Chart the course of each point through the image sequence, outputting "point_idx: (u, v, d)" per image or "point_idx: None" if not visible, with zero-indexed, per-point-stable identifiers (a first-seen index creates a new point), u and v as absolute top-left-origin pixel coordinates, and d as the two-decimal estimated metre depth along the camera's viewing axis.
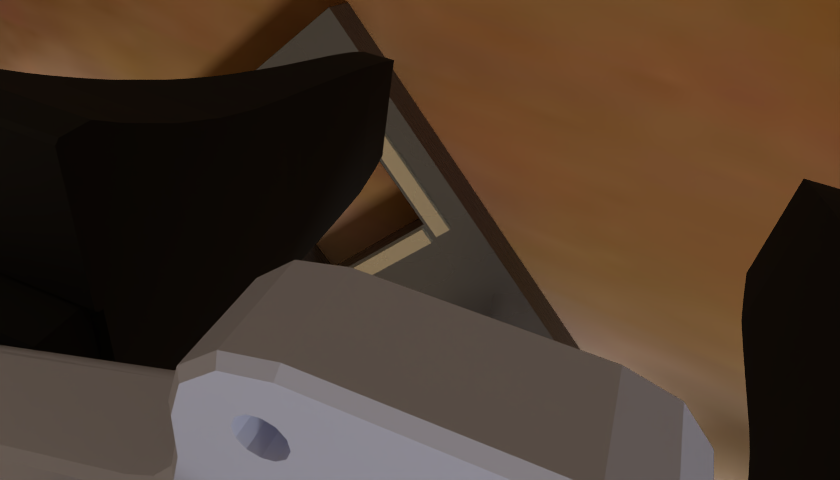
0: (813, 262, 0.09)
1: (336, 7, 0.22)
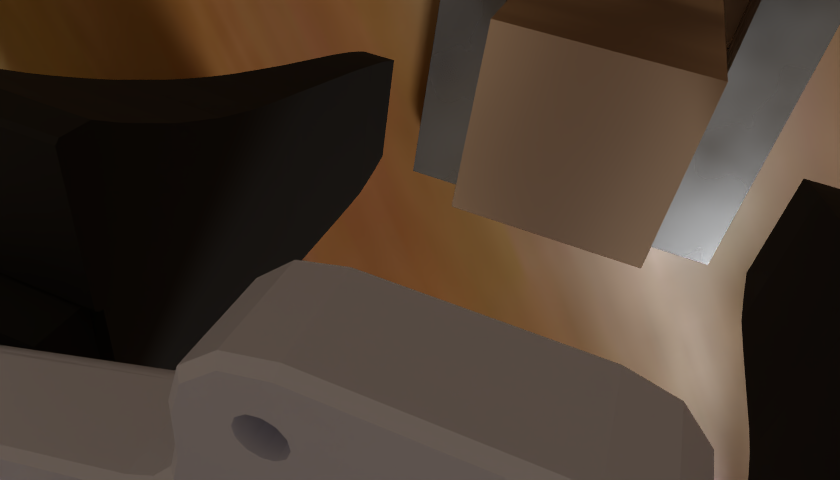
0: (814, 262, 0.09)
1: None
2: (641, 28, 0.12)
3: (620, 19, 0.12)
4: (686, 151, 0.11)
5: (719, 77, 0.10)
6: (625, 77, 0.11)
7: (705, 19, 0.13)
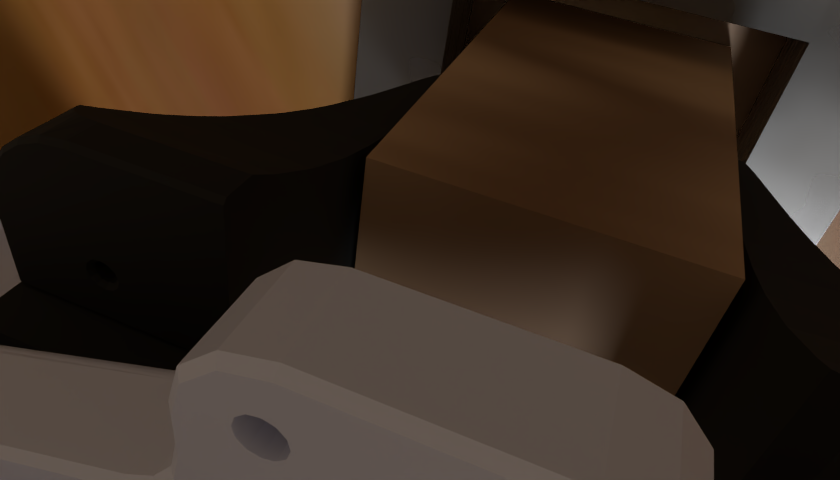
0: None
1: None
2: (610, 158, 0.08)
3: (577, 143, 0.08)
4: (677, 365, 0.07)
5: (731, 269, 0.06)
6: (578, 257, 0.07)
7: (708, 130, 0.09)
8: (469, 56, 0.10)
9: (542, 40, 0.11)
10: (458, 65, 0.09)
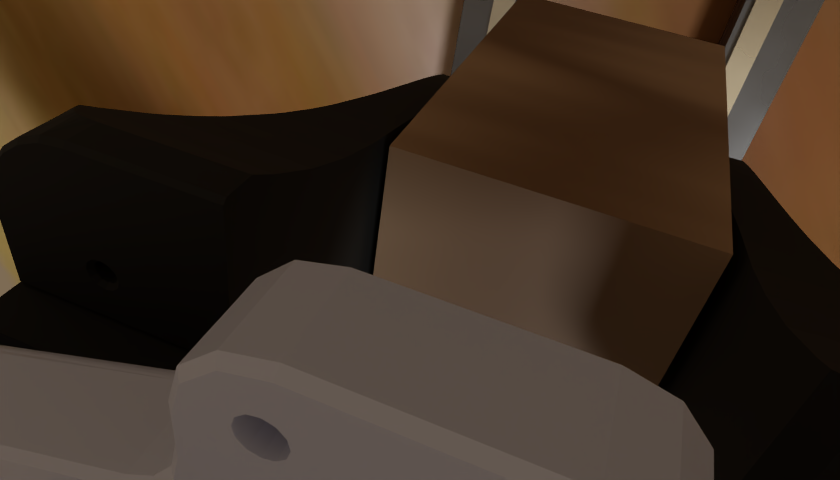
0: None
1: None
2: (611, 148, 0.08)
3: (581, 134, 0.09)
4: (672, 335, 0.08)
5: (720, 245, 0.07)
6: (582, 235, 0.07)
7: (701, 123, 0.09)
8: (480, 54, 0.10)
9: (547, 40, 0.11)
10: (470, 63, 0.10)
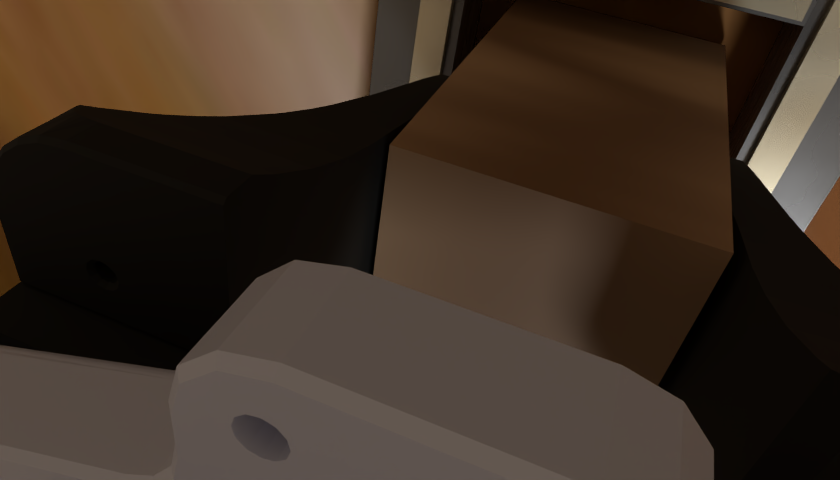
0: None
1: None
2: (611, 147, 0.08)
3: (581, 133, 0.09)
4: (673, 334, 0.08)
5: (720, 244, 0.07)
6: (582, 235, 0.07)
7: (702, 122, 0.09)
8: (479, 54, 0.10)
9: (546, 39, 0.11)
10: (470, 62, 0.10)
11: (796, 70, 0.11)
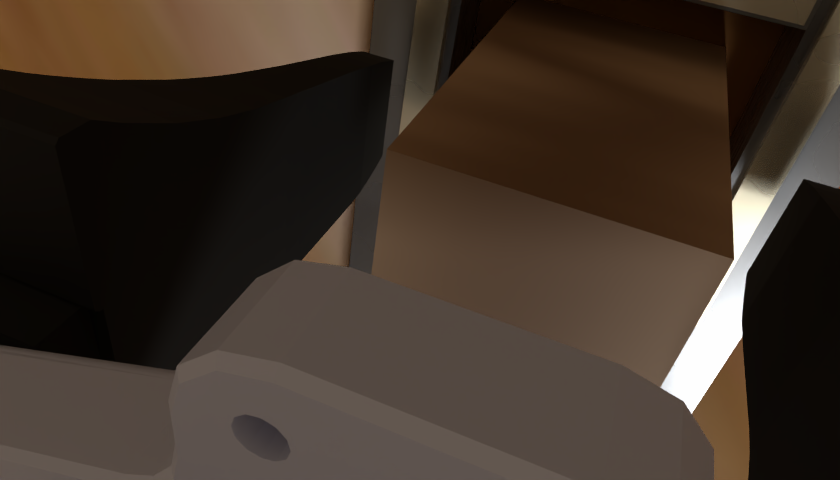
0: (814, 262, 0.09)
1: None
2: (611, 151, 0.08)
3: (580, 137, 0.09)
4: (673, 340, 0.08)
5: (721, 250, 0.07)
6: (582, 240, 0.07)
7: (703, 126, 0.09)
8: (478, 56, 0.10)
9: (546, 41, 0.11)
10: (468, 64, 0.10)
11: (798, 75, 0.11)
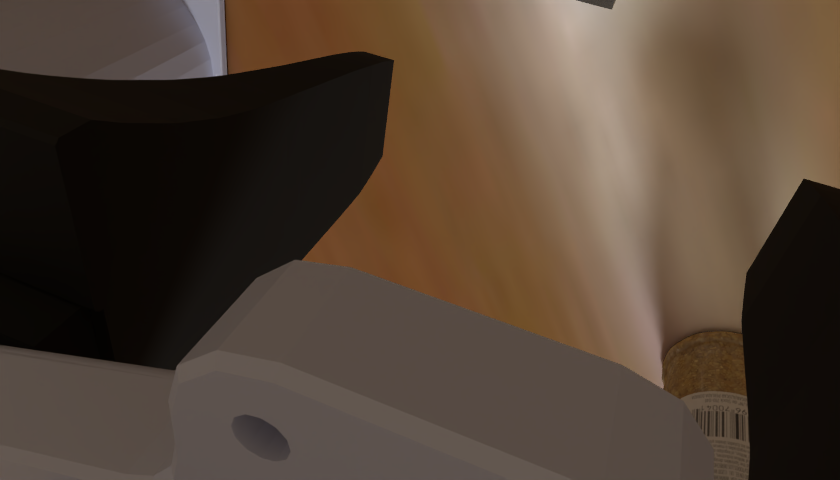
0: (814, 262, 0.09)
1: None
2: None
3: None
4: None
5: None
6: None
7: None
8: None
9: None
10: None
11: None
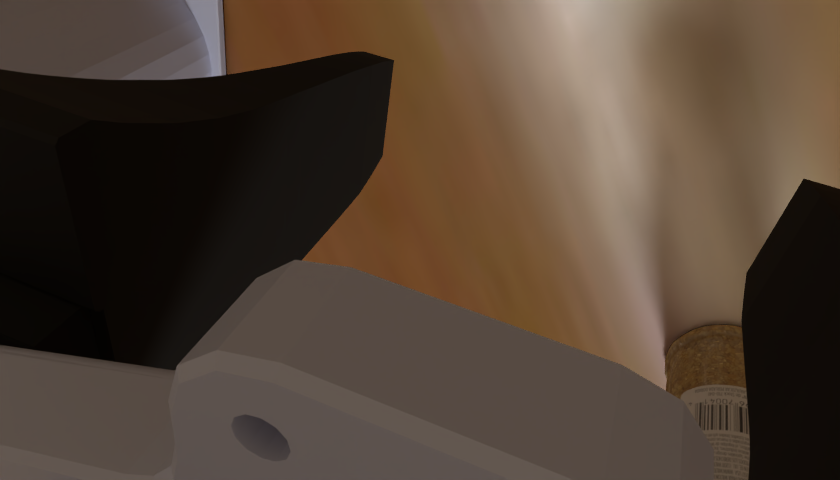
0: (813, 262, 0.09)
1: None
2: None
3: None
4: None
5: None
6: None
7: None
8: None
9: None
10: None
11: None
